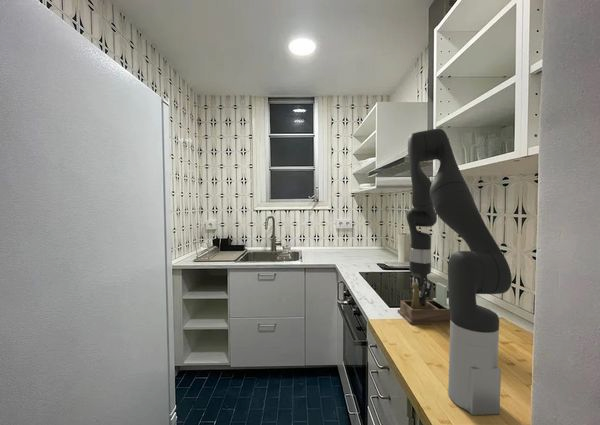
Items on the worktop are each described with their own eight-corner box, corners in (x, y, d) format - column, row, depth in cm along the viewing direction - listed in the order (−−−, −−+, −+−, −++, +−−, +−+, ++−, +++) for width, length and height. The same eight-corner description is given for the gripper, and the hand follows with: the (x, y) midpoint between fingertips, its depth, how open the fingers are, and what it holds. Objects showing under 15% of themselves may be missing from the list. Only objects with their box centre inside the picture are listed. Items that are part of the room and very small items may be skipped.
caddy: (475, 323, 105) (476, 310, 105) (410, 324, 104) (410, 310, 104) (456, 311, 117) (456, 299, 117) (397, 312, 116) (397, 299, 116)
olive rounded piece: (430, 313, 107) (431, 284, 107) (414, 313, 107) (414, 284, 107) (423, 307, 113) (424, 280, 113) (408, 307, 113) (409, 279, 113)
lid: (473, 309, 106) (473, 288, 106) (447, 309, 105) (448, 288, 105) (456, 299, 116) (456, 280, 116) (432, 299, 116) (433, 281, 116)
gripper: (403, 256, 117) (402, 298, 117) (419, 264, 102) (418, 311, 103) (421, 256, 117) (420, 298, 117) (439, 264, 103) (438, 311, 103)
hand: (419, 304), depth 110 cm, fingers closed on olive rounded piece, 3 cm apart
